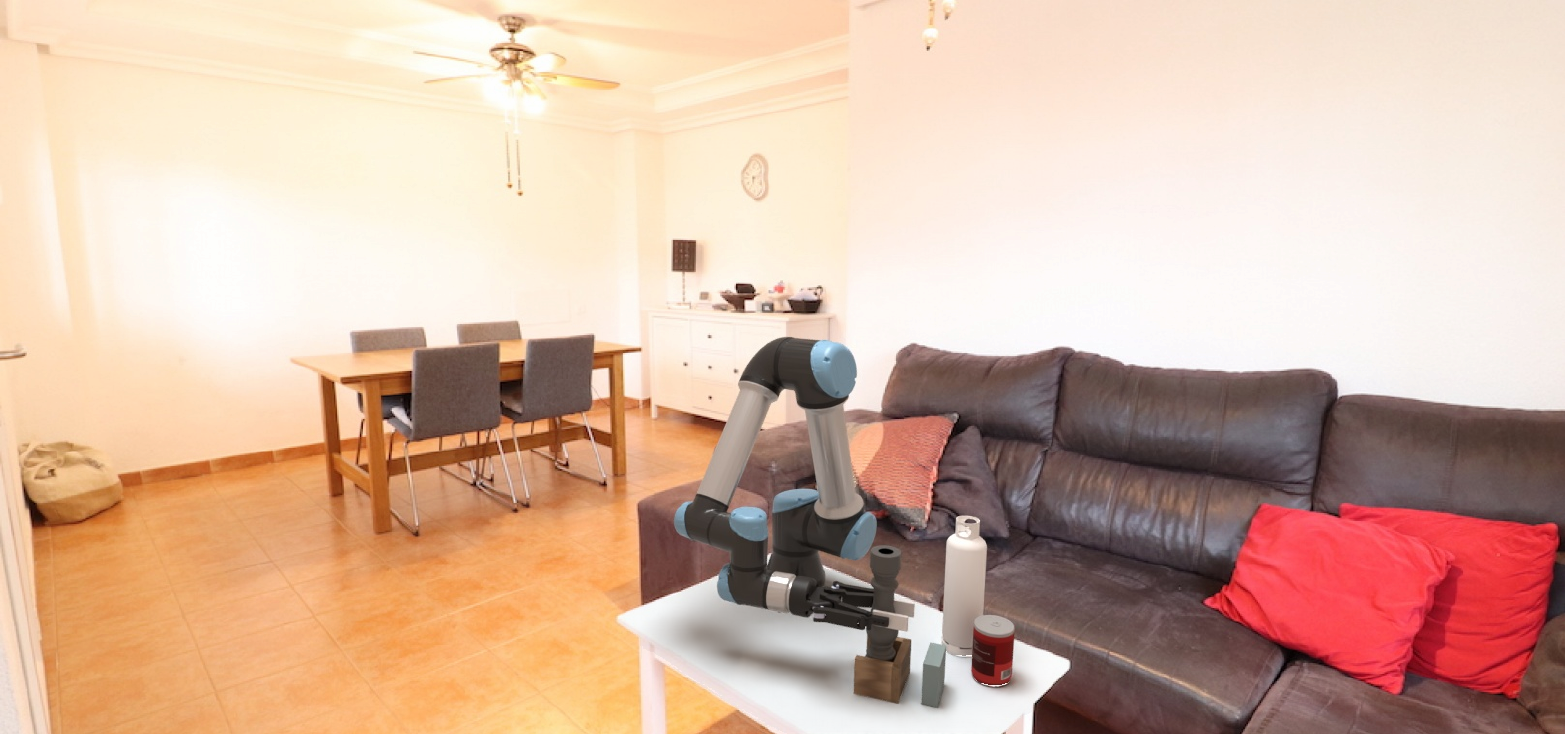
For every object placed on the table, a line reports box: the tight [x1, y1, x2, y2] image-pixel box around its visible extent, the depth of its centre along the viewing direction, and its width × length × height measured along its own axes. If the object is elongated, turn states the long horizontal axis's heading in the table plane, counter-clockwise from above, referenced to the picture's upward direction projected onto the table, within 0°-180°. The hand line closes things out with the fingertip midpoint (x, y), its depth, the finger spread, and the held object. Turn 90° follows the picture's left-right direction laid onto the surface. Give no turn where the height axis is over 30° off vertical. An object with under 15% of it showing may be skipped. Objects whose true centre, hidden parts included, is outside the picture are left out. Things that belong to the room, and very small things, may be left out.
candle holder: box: [865, 544, 902, 662], centre depth 138 cm, size 6×6×25 cm
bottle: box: [941, 515, 988, 656], centre depth 153 cm, size 8×8×28 cm
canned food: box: [970, 614, 1016, 685], centre depth 143 cm, size 8×8×11 cm
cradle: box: [853, 635, 912, 705], centre depth 141 cm, size 8×11×7 cm
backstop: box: [920, 642, 947, 709], centre depth 137 cm, size 3×8×8 cm, turn 159°
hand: (910, 616), depth 136 cm, fingers closed on candle holder, 5 cm apart
